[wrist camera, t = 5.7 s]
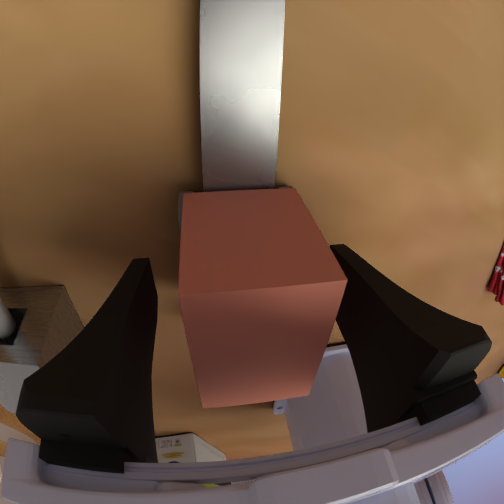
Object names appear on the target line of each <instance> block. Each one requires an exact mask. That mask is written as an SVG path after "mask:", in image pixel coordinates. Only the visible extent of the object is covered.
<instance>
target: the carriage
mask: <svg viewBox="0 0 504 504" xmlns="http://www.w3.org/2000/svg"><path fill="white" fill-rule="evenodd" d="M177 216H178V224H179V233H180V241H181V242H180V263H179V291H178V295H179V301H180V306H181V312H182V317H183V322H184V327H185V332H186V337H187V341H188V346H189V351H190V355H191V360H192V364H193V369H194V373H195V377H196V382H197V386H198V390H199V394H200V398H201V402H202V406H203V408H214V407H226V406H236V405H245V404H254V403H262V402H269V401H276V400H283V399H289V398H295V397H301V396H307V395H309V393H310V390H311V388H312V385H313V382H314V380H315V377H316V374H317V372H318V369H319V366H320V363H321V361H322V358H323V355H324V352H325V349H326V346H327V344H328V341H329V338H330V335H331V332H332V329H333V326H334V323H335V319H336V316H337V313H338V310H339V307H340V304H341V300H342V297H343V294H344V290H345V287H346V284H347V278H346V276H345V274H344V272H343V270H342V269H341V267H340V265H339V263H338V261H337V260H336V258H335V256H334V254H333V252H332V251H331V249H330V247H329V245H328V244H327V242H326V240H325V238H324V237H323V235H322V233H321V231H320V230H319V228H318V226H317V224H316V223H315V221H314V219H313V218H312V216H311V214H310V213H309V211H308V209H307V208H306V206H305V204H304V203H303V201H302V199H301V198H300V196H299V194H298V193H297V191H296V189H295V188H293V187H292V186H286V187H279V189H256V190H234V191H215V192H199V193H193V191H184V192H179V198H178V208H177Z"/></svg>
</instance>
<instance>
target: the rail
mask: <svg viewBox="0 0 504 504" xmlns="http://www.w3.org/2000/svg"><path fill="white" fill-rule="evenodd" d="M284 14H285V0H200V115H201V147H202V172H203V192H215V191H234V190H256V189H275V179H276V164H277V148H278V132H279V115H280V97H281V79H282V59H283V37H284Z"/></svg>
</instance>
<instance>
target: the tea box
mask: <svg viewBox="0 0 504 504" xmlns="http://www.w3.org/2000/svg"><path fill="white" fill-rule="evenodd" d="M155 443H156V450H157V458H158V463H193V462H211V461H224V460H226V456H225V454H224V453H223V452H221V451H220V450H218V449H217V448H215V447H214V446H212V445H211V444H209V443H208V442H206V441H204V440H203V439H201V438H200V437H198V436H197V435H195V434H193V433H189V434H182V435H176V436H168V437H161V438H155ZM203 485H204V486H206V488H209V487H218V486H225V485H231V482H227V483H214V484H203Z"/></svg>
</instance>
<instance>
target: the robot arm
mask: <svg viewBox="0 0 504 504" xmlns="http://www.w3.org/2000/svg"><path fill="white" fill-rule="evenodd" d="M330 249H331V251H332V252H333V254H334V256H335V258H336V260H337V261H338V263H339V265H340V267H341V269H342V270H343V272H344V274H345V276H346V278H347V284H346V287H345V290H344V294H343V297H342V300H341V304H340V307H339V310H338V313H337V316H336V319H335V320H336V322H337V324H338V326H339V329H340V331H341V333H342V335H343V338H344V340H345V342H346V344H344V345H338V346H333V347H327V348H326V349H325V352H324V355H323V358H322V361H321V363H320V366H319V369H318V372H317V374H316V377H315V380H314V382H313V385H312V388H311V390H310V393H309V395H307V396H301V397H295V398H289V399H283V400H276V401H274V406H273V413H274V414H284V413H285V416H286V421H287V425H288V429H289V433H290V437H291V441H292V446H293V450H294V451H291V452H286V453H280V454H274V455H267V456H260V457H253V458H244V459H235V460H224V461H211V462H193V463H158V458H157V450H156V443H155V434H154V423H153V408H152V382H151V374H152V360H153V351H154V342H155V334H156V326H157V309H158V296H157V291H156V287H155V283H154V278H153V274H152V270H151V265H150V260H149V258H139V259H133V261H132V262H131V263H130V265H129V267H128V268H127V270H126V271H125V273H124V274H123V276H122V278H121V279H120V281H119V282H118V284H117V285H116V287H115V288H114V290H113V291H112V293H111V294H110V295H109V297H108V298H107V300H106V301H105V302H104V304H103V305H102V306H101V308H100V309H99V310H98V312H97V313H96V314H95V316H94V317H93V318H92V319H91V321H90V322H89V323H88V324H87V325H86V326H85V328H84V329H83V330H82V331H81V332H80V333H79V334H78V335H77V336H76V337H75V338H74V339H73V340H72V341H71V342H70V343H69V344H68V345H67V346H66V347H65V348H64V349H63V350H62V351H61V352H60V353H58V354H57V355H56V356H55V357H54V358H53V359H51V360H50V361H49V362H48V363H46V364H45V365H44V366H43V367H41V368H40V369H38V370H37V371H36V372H34V373H33V374H32V375H30V376H29V377H27V378H26V379H24V381H23V384H22V388H21V391H20V396H19V400H18V405H17V409H16V416H17V418H18V419H19V421H20V422H21V423H22V424H23V425H24V426H25V427H27V428H28V429H29V430H30V431H32V432H33V433H34V434H36V435H37V436H38V437H39V438H41V444H40V446H38V445H36V444H34V443H30V442H26V441H21V440H17V439H13V438H9V439H8V442H7V448H6V455H5V463H4V472H3V482H2V494H1V496H2V498H3V499H4V500H7V501H9V502H11V503H14V504H454V502H453V498H452V495H451V492H450V489H449V486H448V484H447V481H446V479H445V476H444V474H443V472H442V470H443V469H445V468H447V467H448V466H450V465H452V464H454V463H456V462H457V461H459V460H461V459H463V458H464V457H466V456H468V455H469V454H471V453H473V452H474V451H476V450H477V449H479V448H481V447H482V446H484V445H485V444H487V443H488V442H490V441H491V440H493V439H494V438H496V437H497V436H498V435H499V434H501V433H502V432H504V382H503V380H502V378H501V377H500V375H499V374H498V373H497V374H495V375H493V376H491V377H489V378H487V379H485V380H483V381H482V382H480V383H479V384H478V385H477V384H476V383H475V381H474V380H475V379H476V378H477V374H476V373H475V371H474V369H475V368H476V367H477V366H478V365H479V364H480V362H481V361H482V360H483V359H484V358H485V356H486V355H487V354H488V352H489V350H490V348H491V345H492V341H491V340H490V338H489V337H488V335H487V334H486V332H485V330H484V329H483V327H482V326H479V325H476V324H473V323H470V322H468V321H465V320H462V319H459V318H457V317H454V316H452V315H449V314H447V313H445V312H443V311H441V310H439V309H437V308H435V307H433V306H431V305H429V304H427V303H425V302H423V301H422V300H420V299H418V298H416V297H415V296H413V295H412V294H410V293H408V292H407V291H405V290H404V289H402V288H401V287H399V286H398V285H396V284H395V283H394V282H392V281H391V280H390V279H388V278H387V277H385V276H384V275H383V274H382V273H380V272H379V271H378V270H376V269H375V268H374V267H373V266H371V265H370V264H369V263H368V262H366V261H365V260H364V259H363V258H361V257H360V256H359V255H358V254H356V253H355V252H354V251H353V250H351V249H350V248H349V247H347V246H346V245H344V244H338V245H330ZM254 479H256V480H255V481H250V482H244V483H239V484H232V485H225V486H218V487H209V488H206V486H204V485H203V484H214V483H227V482H238V481H247V480H254Z"/></svg>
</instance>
